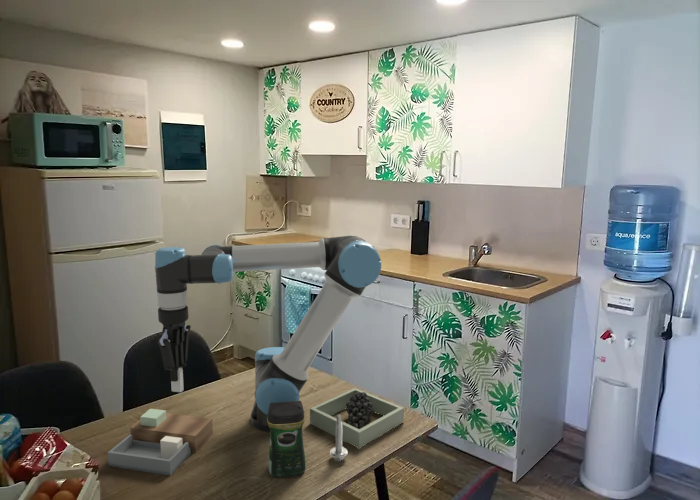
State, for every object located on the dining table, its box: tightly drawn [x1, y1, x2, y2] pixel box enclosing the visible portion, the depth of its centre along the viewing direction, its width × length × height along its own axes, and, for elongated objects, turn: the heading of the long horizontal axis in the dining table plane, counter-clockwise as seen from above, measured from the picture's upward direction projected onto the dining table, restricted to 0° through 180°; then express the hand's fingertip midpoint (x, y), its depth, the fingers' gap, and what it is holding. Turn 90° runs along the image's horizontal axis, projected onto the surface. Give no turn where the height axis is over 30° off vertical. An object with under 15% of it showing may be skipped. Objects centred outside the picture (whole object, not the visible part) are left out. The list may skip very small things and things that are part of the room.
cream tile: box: [160, 436, 183, 459], centre depth 138 cm, size 5×5×2 cm
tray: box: [107, 434, 192, 477], centre depth 137 cm, size 18×10×4 cm, turn 78°
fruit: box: [346, 391, 374, 429], centre depth 157 cm, size 9×8×15 cm
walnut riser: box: [130, 412, 214, 453], centre depth 148 cm, size 20×10×5 cm, turn 78°
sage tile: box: [139, 408, 167, 427], centre depth 148 cm, size 5×5×2 cm
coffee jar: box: [267, 400, 307, 478], centre depth 132 cm, size 10×8×19 cm
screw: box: [329, 413, 349, 462], centre depth 138 cm, size 13×5×5 cm
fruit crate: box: [309, 387, 405, 449], centre depth 158 cm, size 20×20×5 cm
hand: (177, 390), depth 139 cm, fingers closed
